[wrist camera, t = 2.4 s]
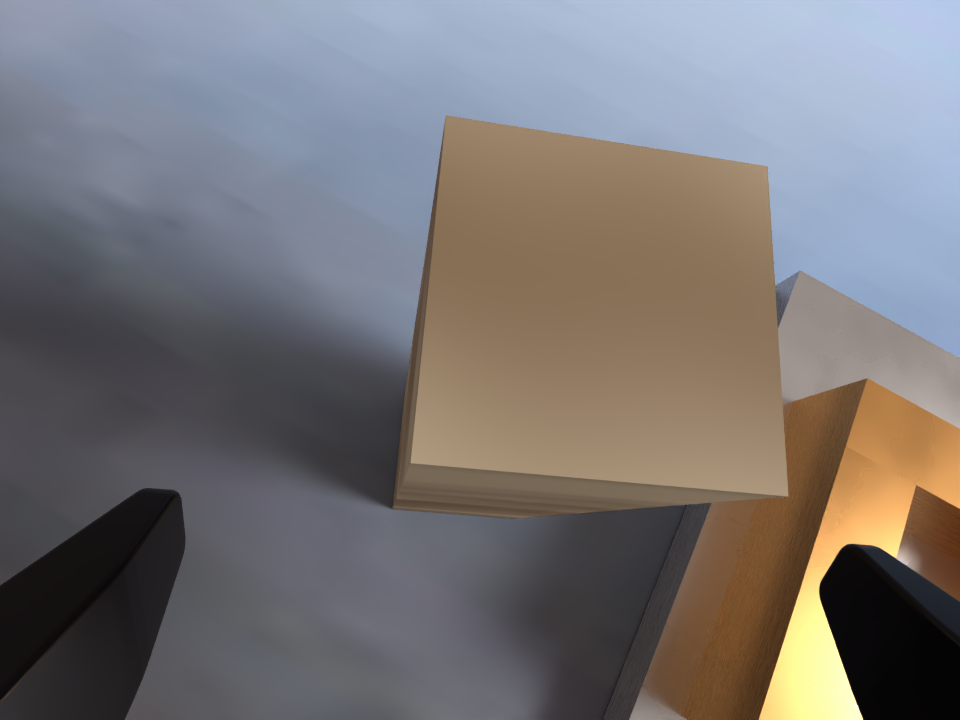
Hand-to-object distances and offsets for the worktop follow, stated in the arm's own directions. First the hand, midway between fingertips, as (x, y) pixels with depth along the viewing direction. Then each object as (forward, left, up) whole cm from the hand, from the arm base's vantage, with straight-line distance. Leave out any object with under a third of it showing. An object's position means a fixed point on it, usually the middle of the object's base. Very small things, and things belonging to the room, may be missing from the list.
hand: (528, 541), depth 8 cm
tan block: (+2, -1, -10) cm, 10 cm away
